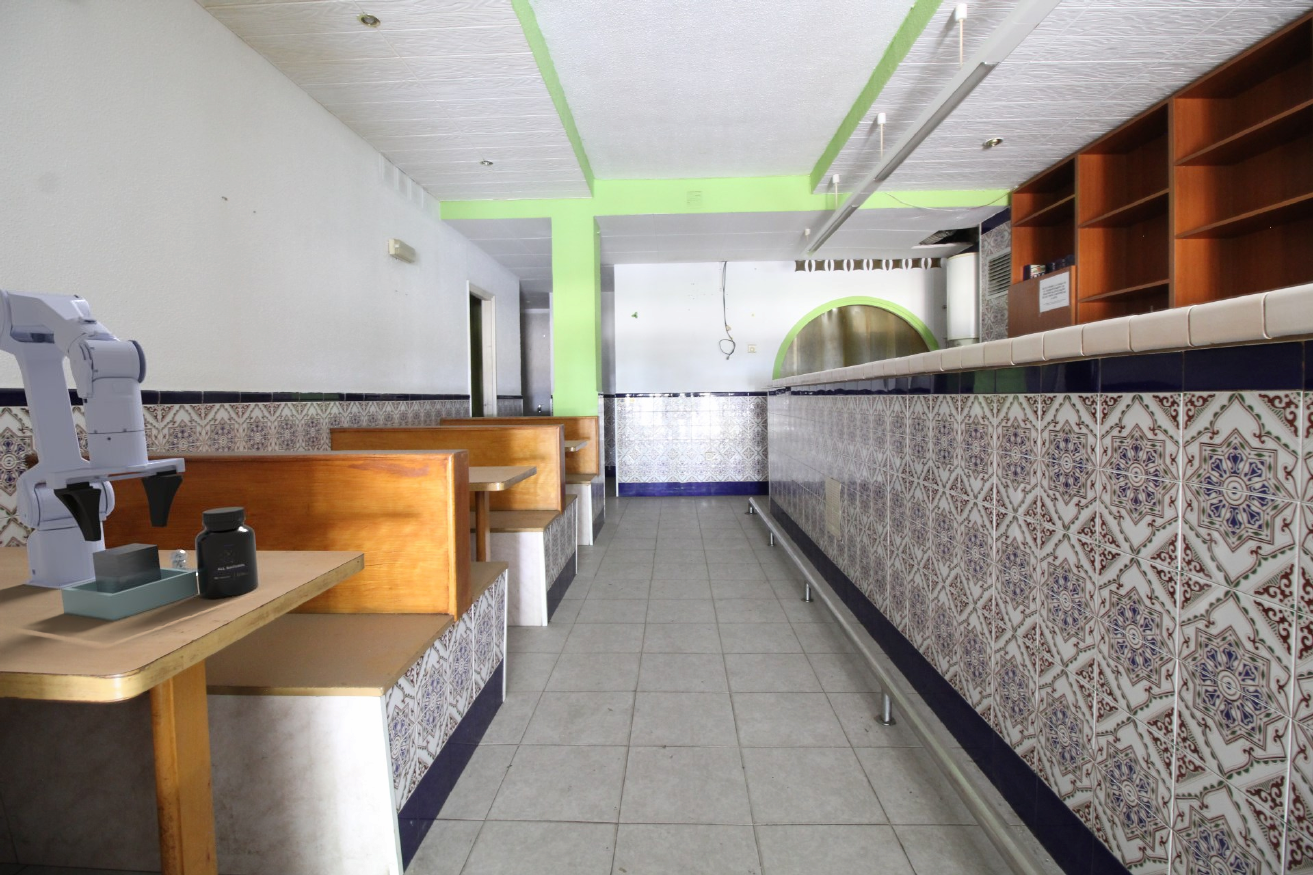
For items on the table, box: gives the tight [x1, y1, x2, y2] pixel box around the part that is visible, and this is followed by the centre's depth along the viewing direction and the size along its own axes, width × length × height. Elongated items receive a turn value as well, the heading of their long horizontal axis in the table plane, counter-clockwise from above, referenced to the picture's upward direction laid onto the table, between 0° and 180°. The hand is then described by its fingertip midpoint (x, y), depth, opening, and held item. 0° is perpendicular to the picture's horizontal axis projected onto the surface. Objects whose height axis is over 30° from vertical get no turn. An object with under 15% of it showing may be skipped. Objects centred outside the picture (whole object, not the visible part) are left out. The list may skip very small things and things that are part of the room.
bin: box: [60, 566, 199, 622], centre depth 80 cm, size 10×10×4 cm
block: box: [92, 542, 161, 594], centre depth 80 cm, size 5×5×7 cm
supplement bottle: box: [194, 506, 259, 601], centre depth 83 cm, size 7×7×12 cm
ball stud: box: [169, 549, 198, 576], centre depth 92 cm, size 6×6×4 cm
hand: (127, 533), depth 80 cm, fingers open, 7 cm apart
